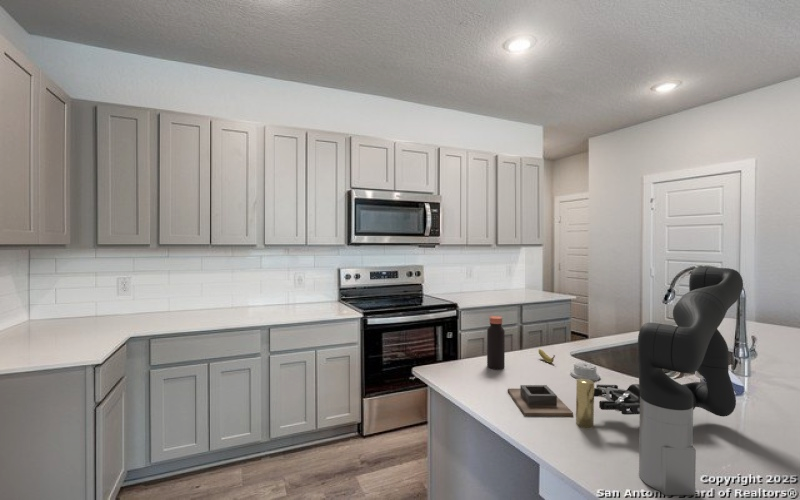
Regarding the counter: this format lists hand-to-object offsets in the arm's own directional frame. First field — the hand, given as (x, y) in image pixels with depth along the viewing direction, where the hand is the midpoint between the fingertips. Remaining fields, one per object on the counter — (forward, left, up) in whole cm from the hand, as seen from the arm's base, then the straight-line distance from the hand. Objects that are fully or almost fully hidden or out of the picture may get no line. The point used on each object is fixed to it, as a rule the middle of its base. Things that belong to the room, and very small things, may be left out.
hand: (592, 398), depth 106 cm
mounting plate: (+14, +10, -7) cm, 19 cm away
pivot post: (0, +2, -7) cm, 8 cm away
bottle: (+48, +15, -8) cm, 51 cm away
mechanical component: (+37, -16, -8) cm, 41 cm away
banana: (+55, -8, -8) cm, 56 cm away
